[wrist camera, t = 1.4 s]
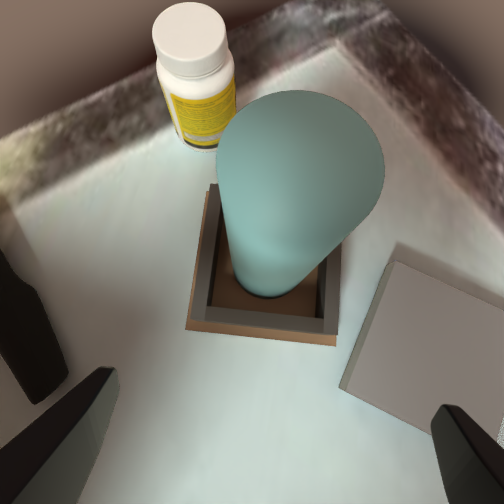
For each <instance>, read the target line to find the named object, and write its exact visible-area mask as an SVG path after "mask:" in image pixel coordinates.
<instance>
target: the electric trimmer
mask: <svg viewBox="0 0 504 504" xmlns="http://www.w3.org/2000/svg"><path fill="white" fill-rule="evenodd" d="M0 354H1V355H2V357H3V358H4V360H5V361H6V363H7V365H8V366H9V368H10V369H11V371H12V373H13V374H14V376H15V378H16V379H17V381H18V382H19V384H20V386H21V387H22V389H23V391H24V392H25V394H26V395H27V397H28V399H29V400H30V402H31V403H32V404H34V405H35V404H37V403H39V402H41V401H43V400H44V399H45V398H46V397H47V396H49V395H50V394H51V393H52V392H53V391H54V390H55V389H56V388H57V387H58V386H59V385H60V384H61V383H62V382H63V381H64V380H65V379H66V378H67V376H68V373H69V372H68V369H67V366H66V363H65V360H64V357H63V355H62V352H61V349H60V347H59V344H58V342H57V339H56V337H55V335H54V332H53V330H52V327H51V325H50V322H49V320H48V317H47V315H46V312H45V310H44V307H43V305H42V303H41V301H40V298H39V296H38V294H37V292H36V290H35V289H34V288H33V287H31V286H30V285H28V284H27V283H25V282H24V281H22V280H21V279H20V278H19V277H18V276H17V275H16V274H15V273H14V272H13V270H12V268H11V267H10V265H9V263H8V262H7V260H6V258H5V256H4V255H3V253H2V251H1V249H0Z"/></svg>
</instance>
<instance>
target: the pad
mask: <svg viewBox="0 0 504 504" xmlns="http://www.w3.org/2000/svg"><path fill="white" fill-rule="evenodd" d="M339 388H340V389H342V390H344V391H345V392H347V393H349V394H351V395H353V396H355V397H357V398H359V399H361V400H363V401H365V402H367V403H369V404H371V405H373V406H375V407H377V408H379V409H381V410H383V411H385V412H387V413H389V414H391V415H393V416H395V417H397V418H398V419H400V420H402V421H404V422H406V423H408V424H410V425H412V426H414V427H416V428H418V429H420V430H422V431H424V432H426V433H428V434H430V435H432V433H431V429H430V423H431V420H432V418H433V417H434V415H435V413H436V412H437V410H438V409H439V407H440V406H441V405H442V404H452V405H457V406H459V407H461V408H462V409H463V410H464V411H465V412H466V413H467V414H468V415H469V416H470V417H471V418H472V419H473V420H474V421H475V422H476V423H477V424H478V425H480V426H481V427H482V428H483V429H484V430H485V431H486V432H487V433H488V434H489V435H490V436H491V437H492V438H493V439H494V440H495V441H497V437H498V433H499V429H500V426H501V422H502V418H503V414H504V310H502V309H500V308H498V307H496V306H494V305H491V304H489V303H487V302H485V301H483V300H481V299H478V298H476V297H474V296H472V295H470V294H468V293H465V292H463V291H461V290H459V289H457V288H455V287H452V286H450V285H448V284H446V283H444V282H442V281H439V280H437V279H435V278H433V277H431V276H429V275H426V274H424V273H422V272H420V271H418V270H416V269H413V268H411V267H409V266H407V265H405V264H403V263H401V262H398V261H394V262H392V263H390V264H388V265H387V266H386V268H385V271H384V273H383V276H382V278H381V281H380V283H379V286H378V288H377V291H376V294H375V296H374V299H373V301H372V304H371V306H370V309H369V311H368V314H367V316H366V319H365V322H364V324H363V327H362V329H361V332H360V334H359V337H358V339H357V342H356V344H355V347H354V349H353V352H352V355H351V357H350V360H349V362H348V365H347V367H346V370H345V372H344V375H343V377H342V380H341V383H340V385H339Z"/></svg>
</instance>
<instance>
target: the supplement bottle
mask: <svg viewBox="0 0 504 504" xmlns="http://www.w3.org/2000/svg"><path fill="white" fill-rule="evenodd" d="M225 29H226V28H225V24H224V22H223V19H222V18H221V16H220V15H219V14H218V13H217V12H216V11H215V10H213V9H212V8H211V7H209V6H207V5H204V4H200V3H195V2H185V3H180V4H176V5H173V6H171V7H169V8H167V9H166V10H164V11H163V12H162V13H161V14H160V15H159V16H158V18H157V19H156V21H155V23H154V25H153V30H152V31H153V32H152V36H153V41H154V44H155V48H156V52H157V56H158V58H157V63H156V68H157V75H158V78H159V82H160V84H161V87H162V90H163V93H164V96H165V99H166V102H167V105H168V108H169V111H170V114H171V117H172V120H173V123H174V126H175V129H176V132H177V135H178V137H179V138H180V140H181V141H182V142H183V143H184V144H185V145H186V146H188V147H189V148H191V149H193V150H195V151H199V152H213V151H217V148H218V144H219V141H220V138H221V136H222V134H223V132H224V130H225V128H226V126H227V125H228V123H229V122H230V120H231V119H232V118H233V117H234V116H235V115H236V92H235V69H234V61H233V57H232V54H231V52H230V50H229V49H228V42H227V36H226V30H225Z"/></svg>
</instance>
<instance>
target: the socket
mask: <svg viewBox="0 0 504 504" xmlns="http://www.w3.org/2000/svg"><path fill="white" fill-rule="evenodd" d="M341 243H342V242H341ZM341 243H340V244H339V245H337V246H336V247H335V248H334V249H333V250H332V251H331V252H330V253H329V254H328V255H327V256H326V257H325V258H324V259H323V260H322V261H321V262H320V263H319V264H318V265H317V266H316V267H315V268H314V269H313V270H312V271H311V272H310V273H309V274H308V275H307V276H306V277H305V278H304V279H303V280H302V281H301V282H300V283H299V284H298V285H297V286H296V287H295V288H294V289H293V290H292V291H291V292H289V293H288V294H286V295H285V296H282V297H280V298H277V299H260V298H256V297H254V296H252V295H250V294H248V293H247V292H246V291H244V290H243V289H242V288H241V286H240V285H239V284H238V282H237V280H236V278H235V276H234V272H233V267H232V261H231V255H230V249H229V243H228V237H227V232H226V226H225V220H224V214H223V208H222V202H221V196H220V190H219V184H210V189H209V191H207V192H206V198H205V205H204V211H203V218H202V224H201V231H200V237H199V244H198V250H197V257H196V263H195V270H194V276H193V283H192V289H191V296H190V302H189V309H188V315H187V322H186V328H185V330H193V331H202V332H211V333H220V334H229V335H238V336H247V337H256V338H265V339H274V340H283V341H292V342H301V343H310V344H319V345H328V346H336V335H338V318H339V293H340V268H341Z"/></svg>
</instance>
